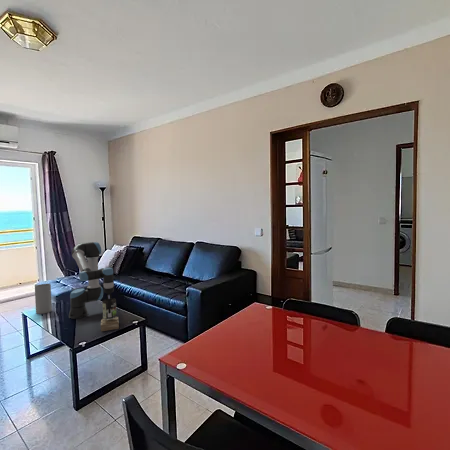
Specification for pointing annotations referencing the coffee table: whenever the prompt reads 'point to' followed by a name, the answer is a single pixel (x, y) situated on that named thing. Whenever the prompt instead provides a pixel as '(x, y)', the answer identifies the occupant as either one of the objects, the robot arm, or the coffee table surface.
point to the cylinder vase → (43, 298)
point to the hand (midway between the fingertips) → (109, 314)
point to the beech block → (109, 324)
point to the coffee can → (105, 310)
